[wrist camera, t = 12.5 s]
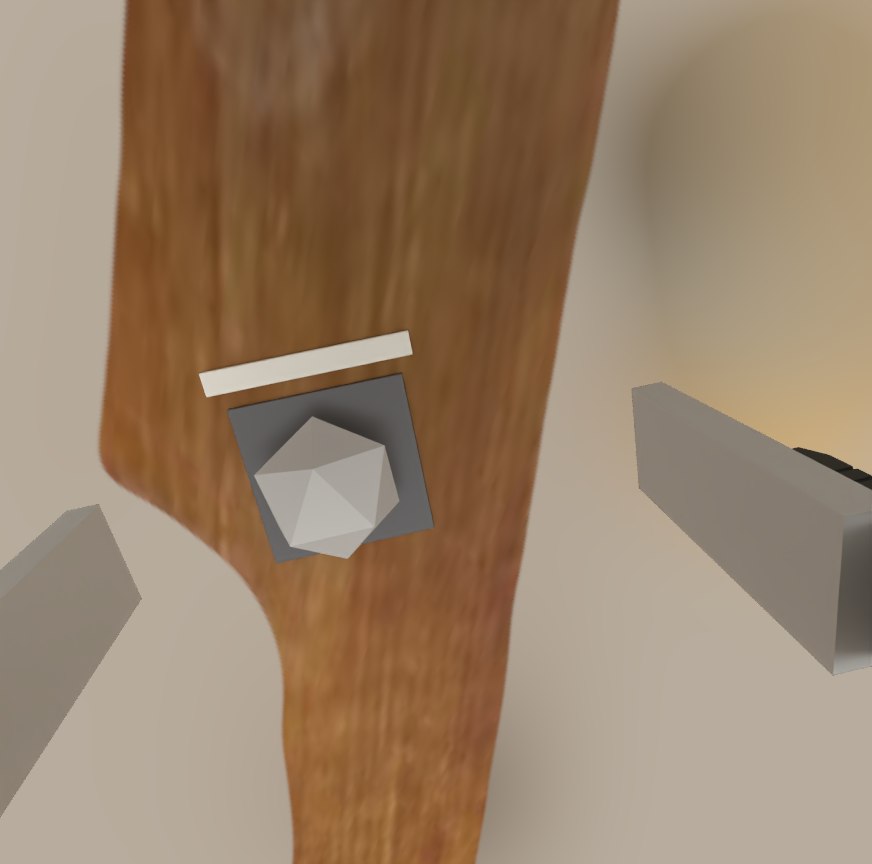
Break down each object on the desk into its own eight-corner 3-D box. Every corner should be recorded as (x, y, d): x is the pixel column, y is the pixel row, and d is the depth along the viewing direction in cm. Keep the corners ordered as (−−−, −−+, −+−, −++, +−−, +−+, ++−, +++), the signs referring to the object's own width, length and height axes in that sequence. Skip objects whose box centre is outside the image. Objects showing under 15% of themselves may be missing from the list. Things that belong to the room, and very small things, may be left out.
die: (285, 528, 41) (360, 606, 35) (208, 467, 35) (283, 550, 29) (361, 447, 43) (445, 508, 37) (301, 376, 37) (390, 435, 31)
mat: (407, 330, 38) (408, 331, 37) (446, 522, 43) (447, 525, 42) (201, 372, 37) (198, 373, 37) (263, 563, 42) (262, 567, 41)
